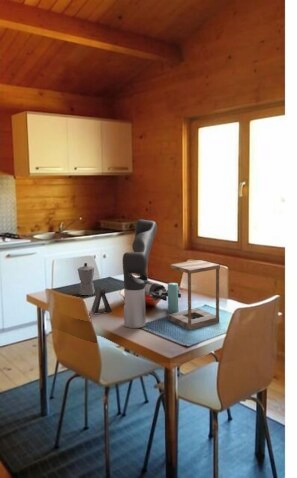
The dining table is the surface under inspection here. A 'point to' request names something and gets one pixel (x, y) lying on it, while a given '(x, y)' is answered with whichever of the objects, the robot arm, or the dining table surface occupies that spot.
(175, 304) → the peg
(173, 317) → the tan frame
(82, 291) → the coffeepot
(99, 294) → the phone stand
